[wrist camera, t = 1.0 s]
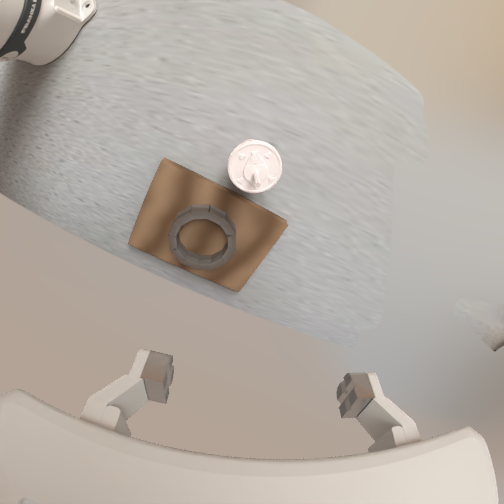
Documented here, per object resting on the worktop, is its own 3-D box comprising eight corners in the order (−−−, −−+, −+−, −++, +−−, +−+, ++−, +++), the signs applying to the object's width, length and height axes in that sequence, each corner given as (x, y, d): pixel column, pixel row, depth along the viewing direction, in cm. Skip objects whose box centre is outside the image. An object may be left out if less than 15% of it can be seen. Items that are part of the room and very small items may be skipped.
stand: (131, 237, 45) (123, 251, 41) (164, 157, 38) (156, 165, 34) (238, 285, 52) (238, 301, 48) (286, 220, 45) (290, 233, 41)
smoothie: (230, 172, 40) (228, 210, 28) (227, 131, 36) (223, 151, 25) (272, 170, 40) (289, 207, 28) (272, 129, 37) (289, 148, 25)
